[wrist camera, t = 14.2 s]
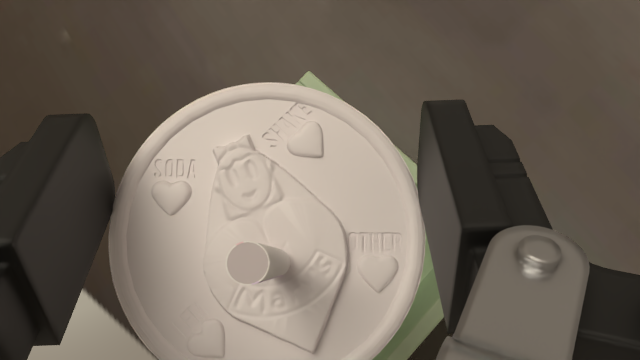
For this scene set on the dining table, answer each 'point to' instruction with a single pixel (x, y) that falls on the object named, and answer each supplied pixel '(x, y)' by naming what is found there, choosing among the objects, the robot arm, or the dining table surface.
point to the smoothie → (267, 230)
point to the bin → (427, 298)
